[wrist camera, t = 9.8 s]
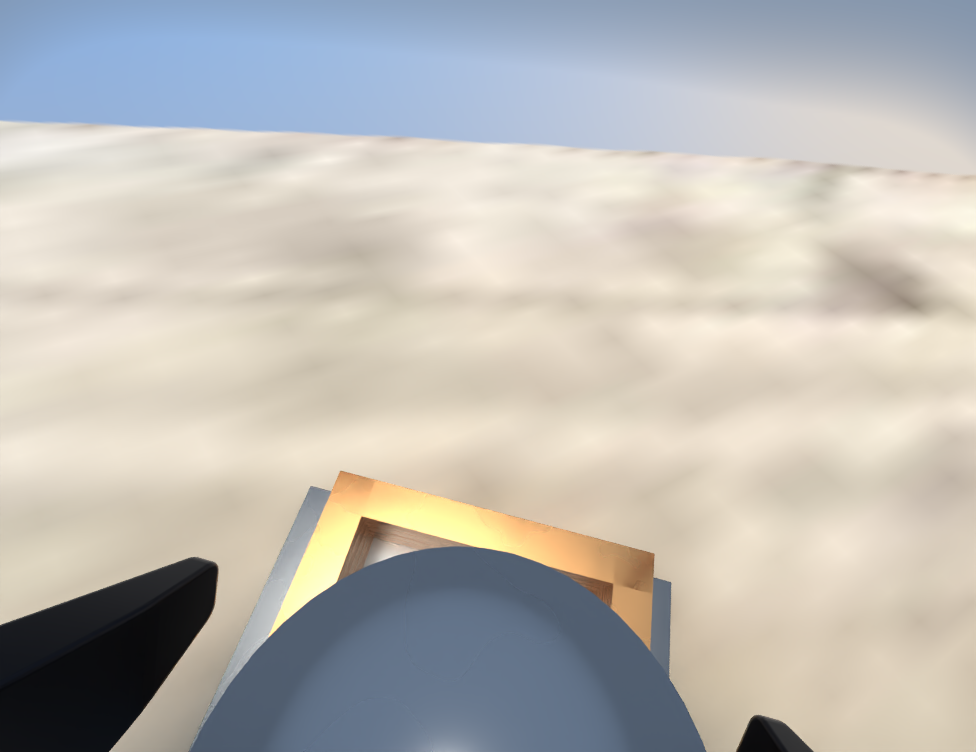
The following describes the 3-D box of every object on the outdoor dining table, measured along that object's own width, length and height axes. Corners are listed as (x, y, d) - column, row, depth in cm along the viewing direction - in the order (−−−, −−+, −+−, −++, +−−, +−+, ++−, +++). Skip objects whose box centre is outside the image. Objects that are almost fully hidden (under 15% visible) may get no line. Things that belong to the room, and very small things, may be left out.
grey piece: (506, 834, 13) (845, 1784, 2) (338, 784, 13) (-164, 1382, 2) (537, 637, 16) (759, 587, 5) (396, 599, 16) (290, 463, 5)
